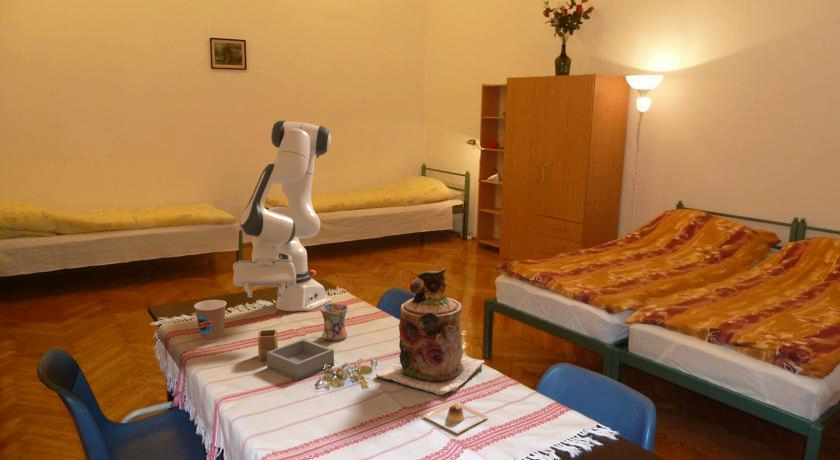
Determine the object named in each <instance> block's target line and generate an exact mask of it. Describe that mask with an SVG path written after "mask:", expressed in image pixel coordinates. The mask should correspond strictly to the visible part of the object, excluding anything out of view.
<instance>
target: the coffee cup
mask: <svg viewBox="0 0 840 460" xmlns="http://www.w3.org/2000/svg"><path fill="white" fill-rule="evenodd" d="M226 305H227V301H225V300H221V299H208V300H203V301H199V302H196V303H195V304H194V305H193V307H194V309H195V310H194V311H195V314H196V321H197V327H198V330H199V334H200V338H201V340H202V342H206V343H214V342H218V341H220V340H222V339H223V338H224V334H225V324H226V322H225V321H226Z"/></svg>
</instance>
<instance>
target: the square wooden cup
mask: <svg viewBox="0 0 840 460" xmlns="http://www.w3.org/2000/svg"><path fill="white" fill-rule="evenodd" d="M278 339H279V338H278V329H263V330H258V333H257V349H258V350H257V351H258V352H257V354H258V363H265V362H266V363H267V352H268V351H271V350H274V349H277V348H279V346H278Z"/></svg>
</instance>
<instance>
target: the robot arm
mask: <svg viewBox="0 0 840 460" xmlns="http://www.w3.org/2000/svg"><path fill="white" fill-rule="evenodd" d="M270 139H271V144H272V145H273V146H274V147H275V148H277V149H278V151H277V154H276V155H277V156H276V158H275V160H274V161H273V162H272V163H268V164H267V165H266V166H265V167H264V169H263V170H262V172H261V174H260V176H259V178H258V181H257V183H256V185H255V187H254V189H253V193H252V194H251V196H250V199H249V201H248V203H247V206H246V207H245V209H244V211H243V212H242V214H241V218H240V219H239V225H240V228H241V230H242V231H243V234H245V235H247V236H251V237H252V238H251V239H252V240H251V243H252V245H251V246H252V248H253V249H252V251H251V260H238V261H236V262H234V263H233V265H232V271H233V278H232V282H233V283H232V284H233V286H235V287H240V288H241V287H244V288H243V289H244V291H245V292H246V293H247V298H253V290H252V289H250V287H278V289H277V294H276V295H277V298H276V299H277V300H276V303H275V304H276V305H275V308H276V309H277V310H280V311H285V312H302V311H305V312H308V311H310V312H311V311H312V310H314V309H316V308H319V307H322V306H324V305H327V304H329V303H330V302H332V297H330V296H329V295H327V294H326V290H325V287H324V286H323V285H322V284H321V283H320V282H318V281H316V280H315V279H313V278H312V276H316V275H317V271H316V270H314V269H311V270H310V269H308V253H307V249H306V248H305V247H304V246H303V244H302V243H301V242H300V239H310V238H314V237H315V236H317V235H318V233H319V232H320V229H321V219H320V217H319V215H318V214H317V213H316V212H315V209H314V205H313V202H312V200H313V199H312V188H313V187H312V186H313V180H314V173H315V162H316V161H315V160H316V159H318V158H320V156H324V155H325V154H326V153H328V151H329V149H330V147H331V144H332V135H331V132H330V130H329V128H327V127H326V126H322V125H320V126H318V125H316V124H312V123H308V122H305V121H304V122H303V121H302V122H299V121H286V120H277V121H276V122H275V123H274V124H273V126H272V127H271V130H270ZM315 156H316V159H315ZM275 184H276V185H277V184H281V185H282V186H281V191H282V193H283V195H284V196H285V197H286V200H287V204H288V207H286V206H274V207H270V208H268V209H267V208H266V207H265V202H266V200H267V198H268V195H269V192H270V190H271V188H272V186H273V185H275Z"/></svg>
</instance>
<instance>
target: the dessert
mask: <svg viewBox="0 0 840 460" xmlns="http://www.w3.org/2000/svg"><path fill="white" fill-rule="evenodd" d="M447 410H448V412H447V416H446V420H447V421H448V422H450V423H454V424H455V423H462V422H463V421H465V415H464V412H463V411H466V412H467V413H470V414H472V415H474V416H476V417H478V418H480V419H479V420H476V421H475V422H473V423H470V424H469V425H467V426H466V427H463V428H462V429H460V430H458V431H455V430H454V429H452V428H450V427H448V426H446V425H444V424H442V423H440V422H438V421H436V420H434V419H432V417H434V416H436V415H437V414H440V413H442V412H444V411H447ZM422 417H423V418H425V419H427V420H429V421H431V422H433V423H435V424H437V425H439V426H441V427H443V428H444V429H447V430H449V431H451V432H453V433H455V434H457V435H458V434H460V433H462V432H464V431H466V430H467V429H469V428H471V427H473V426H474V425H476V424H478V423H480V422H482V421H484V420H486V419H487V418H490V416H489V415H487V414H485V413H483V412H481V411H478V410H476V409H474V408H472V407H469V406H467V405H466V404H463V403H461V402H459V401H456V400H451V401H450V402H448V403H446V404H443V405H441V406H440V407H437V408H436V409H433V410H431V411H429V412H427V413H425V414H422Z"/></svg>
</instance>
